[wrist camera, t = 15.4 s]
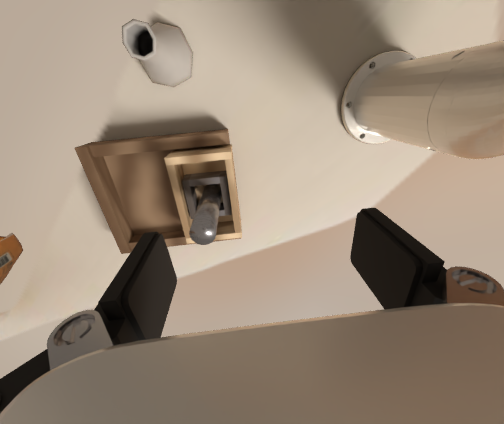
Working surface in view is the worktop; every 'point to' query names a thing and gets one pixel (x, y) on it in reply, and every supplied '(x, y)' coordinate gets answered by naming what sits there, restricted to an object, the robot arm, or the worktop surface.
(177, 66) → the flask
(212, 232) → the handle peg
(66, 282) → the worktop surface
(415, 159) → the worktop surface
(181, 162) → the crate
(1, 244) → the pancake mix bag
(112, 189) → the bay
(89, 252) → the worktop surface
